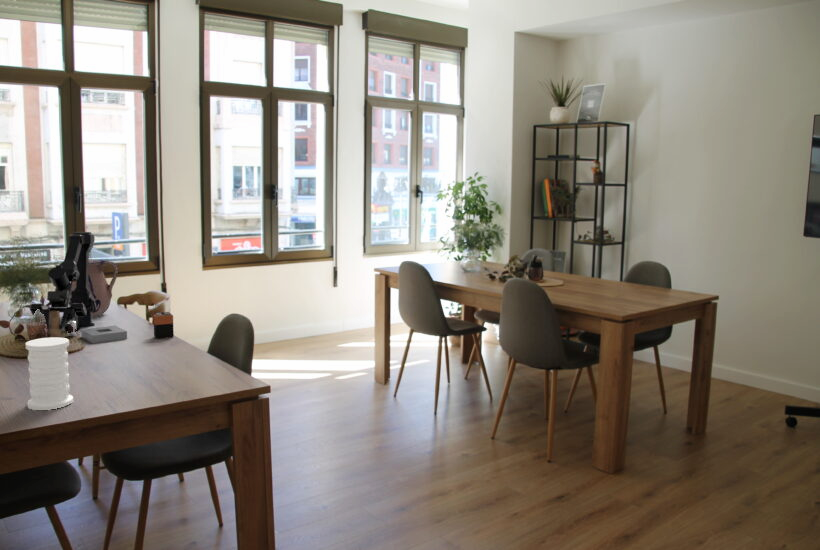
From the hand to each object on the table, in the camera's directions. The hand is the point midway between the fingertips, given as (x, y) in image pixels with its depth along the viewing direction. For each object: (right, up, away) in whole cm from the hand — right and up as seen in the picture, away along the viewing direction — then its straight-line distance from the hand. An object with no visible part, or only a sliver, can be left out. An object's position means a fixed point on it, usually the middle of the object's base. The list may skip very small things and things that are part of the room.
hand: (54, 329), depth 262 cm
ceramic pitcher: (-11, +2, +58) cm, 59 cm away
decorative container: (+31, -17, -63) cm, 72 cm away
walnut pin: (0, -6, +2) cm, 7 cm away
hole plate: (+12, -5, +16) cm, 20 cm away
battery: (+34, -5, +19) cm, 39 cm away
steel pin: (-1, -4, +17) cm, 18 cm away
